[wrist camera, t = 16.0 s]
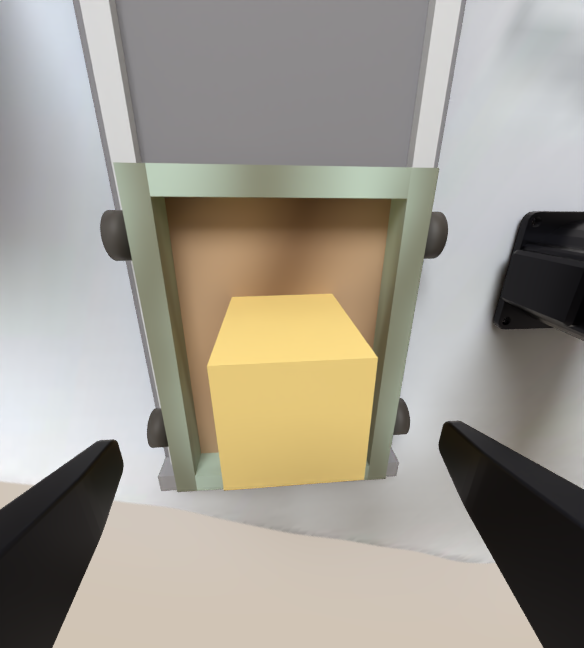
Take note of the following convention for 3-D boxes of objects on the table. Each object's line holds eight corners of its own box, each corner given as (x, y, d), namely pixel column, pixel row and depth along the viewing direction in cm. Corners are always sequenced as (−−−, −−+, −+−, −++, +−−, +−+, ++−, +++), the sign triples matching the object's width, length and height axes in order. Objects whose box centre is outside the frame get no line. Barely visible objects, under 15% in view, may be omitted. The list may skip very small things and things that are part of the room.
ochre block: (332, 293, 13) (378, 357, 8) (328, 378, 15) (363, 479, 10) (231, 296, 13) (207, 366, 8) (239, 383, 15) (223, 490, 9)
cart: (433, 175, 13) (477, 168, 11) (389, 436, 19) (410, 477, 16) (112, 170, 12) (67, 161, 10) (167, 448, 18) (149, 493, 15)
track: (482, -137, 11) (527, -207, 9) (385, 452, 21) (396, 475, 20) (43, -180, 10) (-10, -271, 8) (170, 464, 20) (161, 490, 18)
